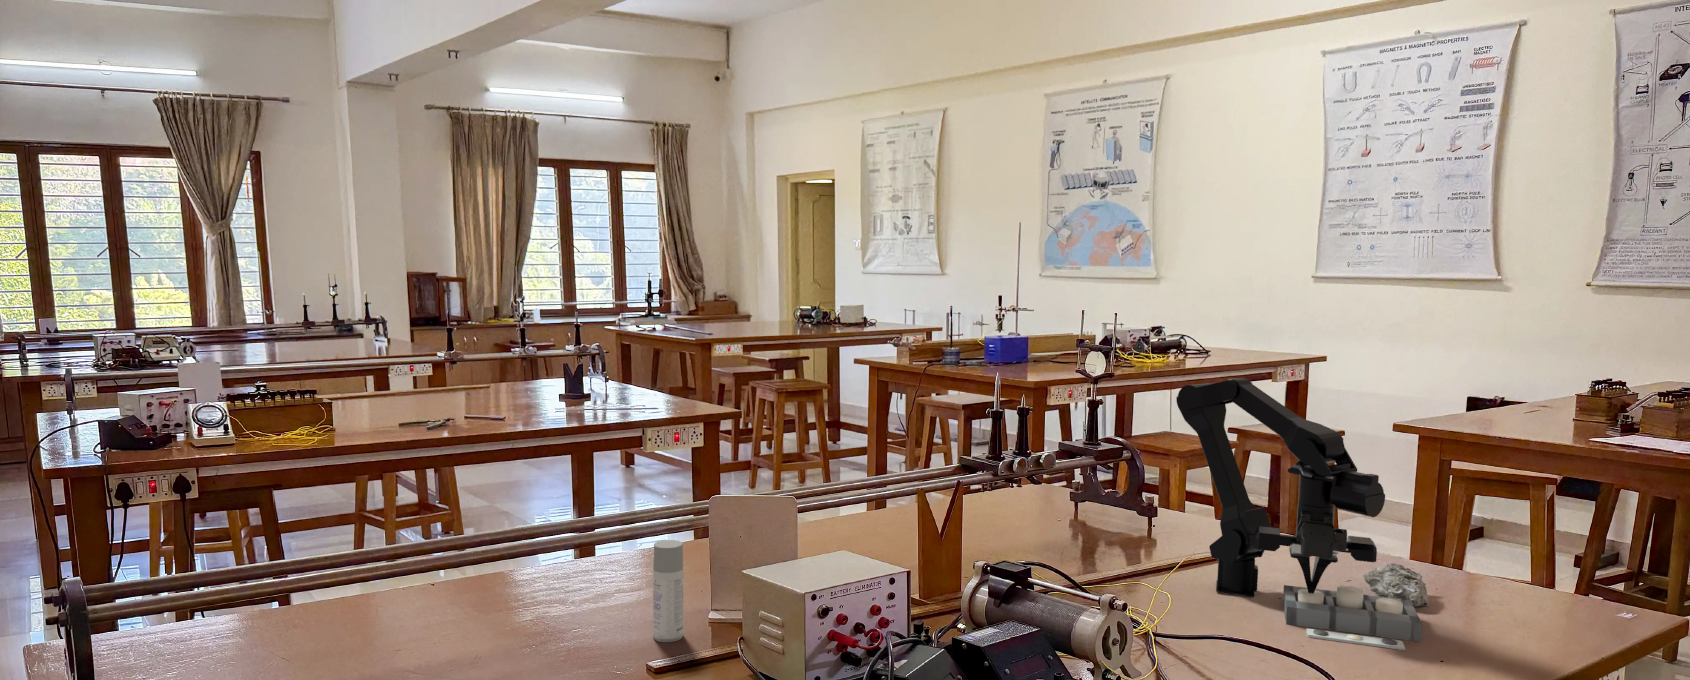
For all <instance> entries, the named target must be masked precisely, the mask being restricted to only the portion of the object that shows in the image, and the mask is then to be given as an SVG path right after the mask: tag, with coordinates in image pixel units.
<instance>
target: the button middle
mask: <svg viewBox="0 0 1690 680" xmlns="http://www.w3.org/2000/svg"><path fill="white" fill-rule="evenodd" d="M1336 591H1337V599H1336V606H1338V607H1346V608H1354V609H1362V607H1363V595H1364V590H1363V589H1362V588H1359V587H1356V586H1352V585H1351V586H1350V585H1339V586H1337V587H1336Z"/></svg>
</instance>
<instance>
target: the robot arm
mask: <svg viewBox="0 0 1690 680" xmlns="http://www.w3.org/2000/svg"><path fill="white" fill-rule="evenodd" d="M1175 397H1176V405H1177V407H1178V409H1179V412H1180V414H1181V416H1182V418H1183V420H1184V422H1185V423H1187V424H1188V425H1189V427H1190V428H1191V429H1192V430H1193V431H1194V432H1195V433H1196V434H1197V436H1198V439H1199V442H1200V446H1201V448H1202V451H1203V454H1204V457H1205V460H1206V463H1207V466H1208V468H1209V471H1210V474H1211V478H1212V480H1213V483H1214V487H1215V489H1216V492H1217V495H1218V498H1219V502H1220V504H1221V508H1222V511H1221V517H1220V520H1219V521H1220V522H1219V526H1220V527H1219V528H1220V532H1221V536H1220V537H1219V538H1217V539H1216V540H1215V541H1213V542H1212V543H1211V544H1210V545H1209V551H1210V556H1211V558H1213V559H1216V560H1217V561H1218V562H1217V577H1216V579H1217V580H1216V581H1215V582H1216V583H1215V584H1216V585H1215V587H1216V589H1215V592H1216V593H1219V594H1226V595H1227V594H1228V595H1235V596H1242V597H1243V596H1244V597H1252V598H1254V597H1255V592H1257V591H1258V582H1259V581H1258V579H1259V577H1258V576H1259V566H1258V565H1257V564H1256V558H1262V557H1263V554H1264V552H1265V551H1266V552H1267V551H1269V552H1276V551H1277V550H1278V549H1280V548H1281V546H1283V547H1284V546H1285V547H1288V550H1289V555H1290V557H1291V558H1292V559H1297V561H1298V564H1299V566H1300V568H1301V571H1302V575H1303V577H1304V580H1305V584H1306V585H1305V586H1306V588H1307V589H1308V593H1314V591H1315V589H1317V587H1318V585H1319V583H1320V581H1321V577H1322V576H1323V574H1324V572H1325V570H1327V568H1328V567H1329V565H1330V564H1332V563H1334V564H1335V563H1338V562H1339V559H1338V555H1339V553H1347V554H1350V556H1351V557H1352V558H1353V560H1355V561H1356V562H1357V561H1358V562H1365V563H1366V562H1367V563H1376V562H1377V558H1378V557H1377V556H1378V555H1377V554H1378V551H1377V550H1378V548H1377V546H1376V543H1375V542H1374V541H1373V540H1372V538H1371V537H1364V536H1355V535H1348V529H1345V528H1335V526H1334V524H1335V523H1334V522H1335V509H1338V510H1341V511H1346V512H1350V513H1353V514H1358V515H1362V516H1366V517H1370V518H1375V517H1377V516H1379V514H1381V512H1382V511H1383V509H1384V508H1383V507H1384V505H1385V501H1386V493H1385V492H1384V488H1383V486H1382V484H1381V483H1380V482H1379V480H1380V479H1379V477H1380V476H1379V475H1378V474H1373V473H1363V472H1358V468H1357V466H1356V465H1355V463H1354V461H1353V459H1352V458H1351V456H1350V453H1349V452H1348V450H1347V449H1346V446H1345V443H1344V442H1345V441H1344V437H1343V436H1342V435H1341V433H1339V432H1338V431H1337V430H1335V429H1332V428H1330V427H1327V426H1326V425H1324V424H1321V423H1318V422H1315V421H1311V420H1308V419H1305V418H1303V417H1301V416H1299V415H1297V413H1295V412H1293V411H1292V410H1290V409H1289V408H1287V407H1286V406H1284V405H1283V404H1281V403H1280V402H1279V401H1277V400H1276V399H1274V398H1273V397H1272V396H1270V395H1269V394H1267V393H1266V392H1265V391H1263V390H1261V389H1260V388H1258V386H1256V385H1255V384H1253V382H1252V381H1251V380H1250V379H1248V378H1245V377H1237V378H1236V377H1235V378H1228V379H1226V380H1224V381H1220V382H1216V383H1211V382H1210V383H1209V382H1206V383H1196V384H1187V385H1184V386H1183V387H1181V388H1180V390H1179V391H1178V393H1177V395H1176V396H1175ZM1232 403H1234V404H1235V405H1236V406H1237V407H1239V408H1240V409H1242V410H1243V411H1245V412H1246V413H1247V414H1249V415H1250V416H1252V417H1253V418H1254V419H1255V420H1257V421H1258V422H1260V423H1261V424H1263V425H1264V426H1265V427H1267V428H1269V430H1271V431H1272V432H1274V433H1275V434H1277V435H1278V436H1279V437H1280V438H1281V439H1282V440H1283V442H1284V443H1285V446H1286V448H1287V449H1288V451H1290V453H1291V454H1293V455H1292V456H1294V457H1295V458H1296V459H1297V461H1296V463H1295V464H1294V465H1292V466H1291V467H1289V468H1287V472H1288V473H1289V474H1293V475H1298V477H1299V480H1298V495H1297V496H1298V497H1297V509H1296V510H1297V512H1296V515H1297V516H1296V527H1295V531H1296V532H1295V535H1291V534H1282V533H1281V531H1280V530H1281V529H1280V528H1279V527H1278V528H1277V527H1273V525H1272V524H1271V522H1270V520H1269V516H1268V511H1267V509H1266V508H1265V507H1258V508H1257V507H1256V506H1255V504H1253V502H1252V501H1251V500H1250V498H1249V494H1248V491H1247V489H1246V486H1245V483H1244V481H1243V478H1242V477H1243V476H1242V474H1241V471H1240V468H1239V466H1238V463H1237V459H1236V458H1235V454H1234V451H1233V449H1232V446H1231V443H1230V442H1231V441H1230V440H1229V437H1228V435H1227V431H1226V429H1225V421H1226V415H1227V407H1226V405H1228V404H1232ZM1332 463H1335V464H1332ZM1311 557H1314V563H1313V569H1312V574H1311V563H1310V562H1311Z"/></svg>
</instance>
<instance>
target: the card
mask: <svg viewBox="0 0 1690 680" xmlns="http://www.w3.org/2000/svg"><path fill="white" fill-rule="evenodd" d="M1306 636H1307V638H1313V639H1318V640H1319V639H1320V640H1327V641H1335V642H1342V643H1347V644H1348V643H1349V644H1357V645H1363V646H1372V647H1380V648H1387V649H1394V650H1400V651H1406V647H1405V644H1404V642H1403V641H1402V640H1399V639H1393V638H1384V637H1382V638H1381V637H1376V636H1369V635H1368V636H1367V635H1361V634H1359V635H1358V634H1356V633H1346V632H1339V631H1331V630H1325V629H1316V628H1306Z"/></svg>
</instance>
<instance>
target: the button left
mask: <svg viewBox="0 0 1690 680" xmlns="http://www.w3.org/2000/svg"><path fill="white" fill-rule="evenodd" d="M1323 601H1324V594H1323V593H1322V592H1320V591H1317V590H1315V591H1314V593H1308V589H1300V590H1298V602H1306V603H1314V604H1322V605H1323Z"/></svg>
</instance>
